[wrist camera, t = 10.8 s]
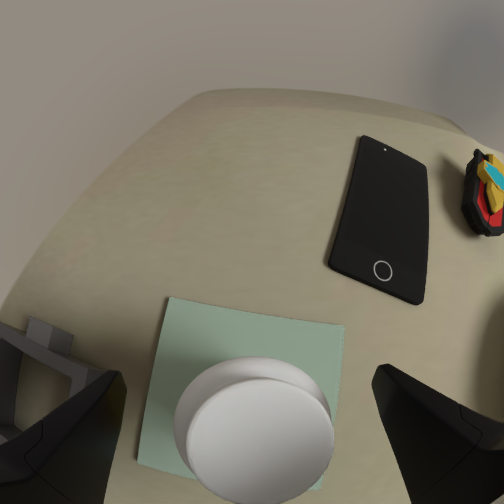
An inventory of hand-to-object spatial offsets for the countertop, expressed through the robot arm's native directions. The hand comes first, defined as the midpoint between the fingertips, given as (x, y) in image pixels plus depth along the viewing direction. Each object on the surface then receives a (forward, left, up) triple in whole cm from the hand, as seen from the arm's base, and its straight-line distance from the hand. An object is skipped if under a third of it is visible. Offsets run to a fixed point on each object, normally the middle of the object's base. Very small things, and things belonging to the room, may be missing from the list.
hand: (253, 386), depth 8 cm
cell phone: (+17, -11, -9) cm, 22 cm away
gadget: (+21, -26, -9) cm, 35 cm away
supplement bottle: (-2, 0, -8) cm, 8 cm away
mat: (-1, 0, -9) cm, 9 cm away
